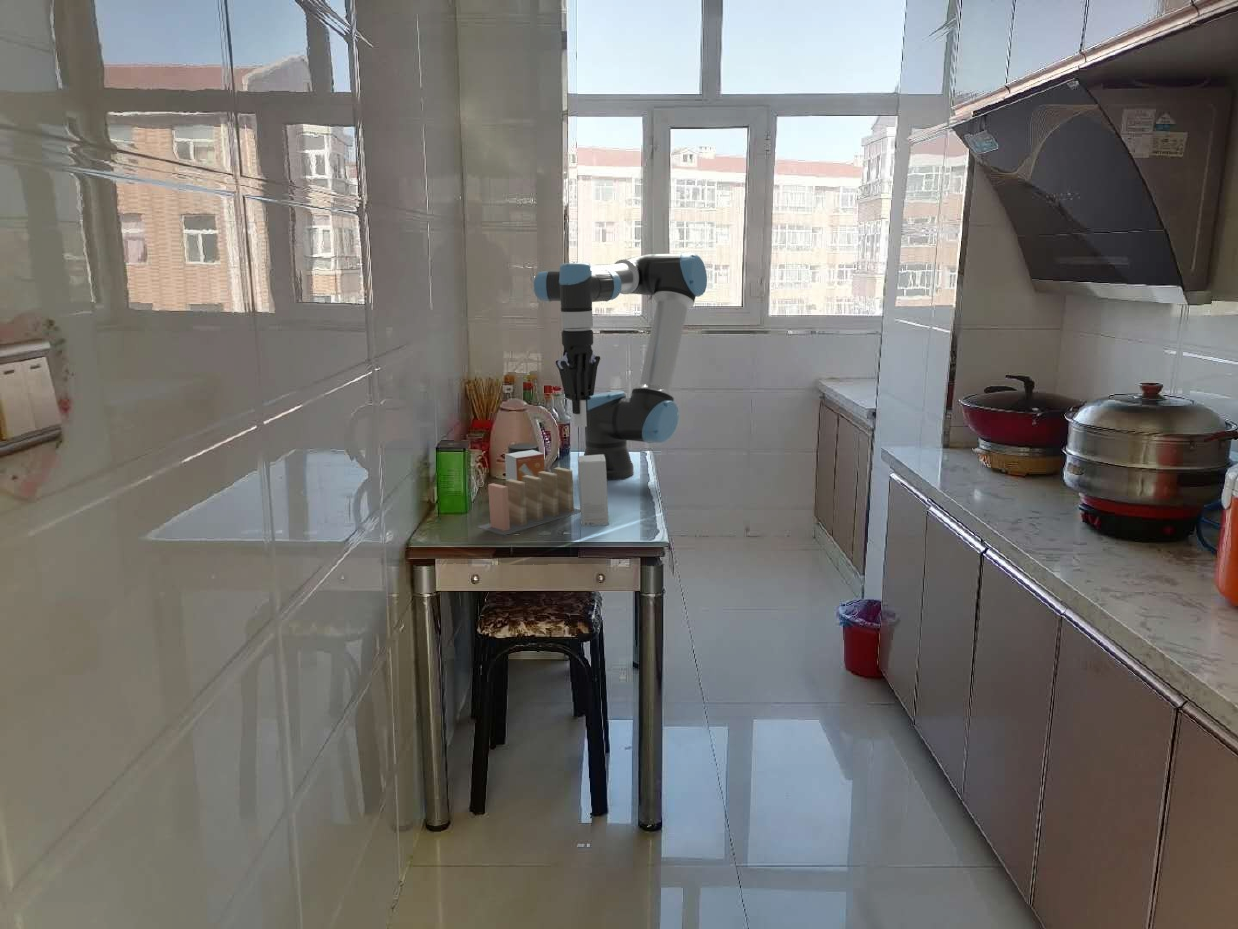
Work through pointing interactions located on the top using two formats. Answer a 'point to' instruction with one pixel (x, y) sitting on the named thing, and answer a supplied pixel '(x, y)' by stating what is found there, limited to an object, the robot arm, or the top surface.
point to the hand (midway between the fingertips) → (580, 426)
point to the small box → (523, 464)
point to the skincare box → (593, 490)
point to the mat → (529, 522)
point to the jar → (522, 447)
